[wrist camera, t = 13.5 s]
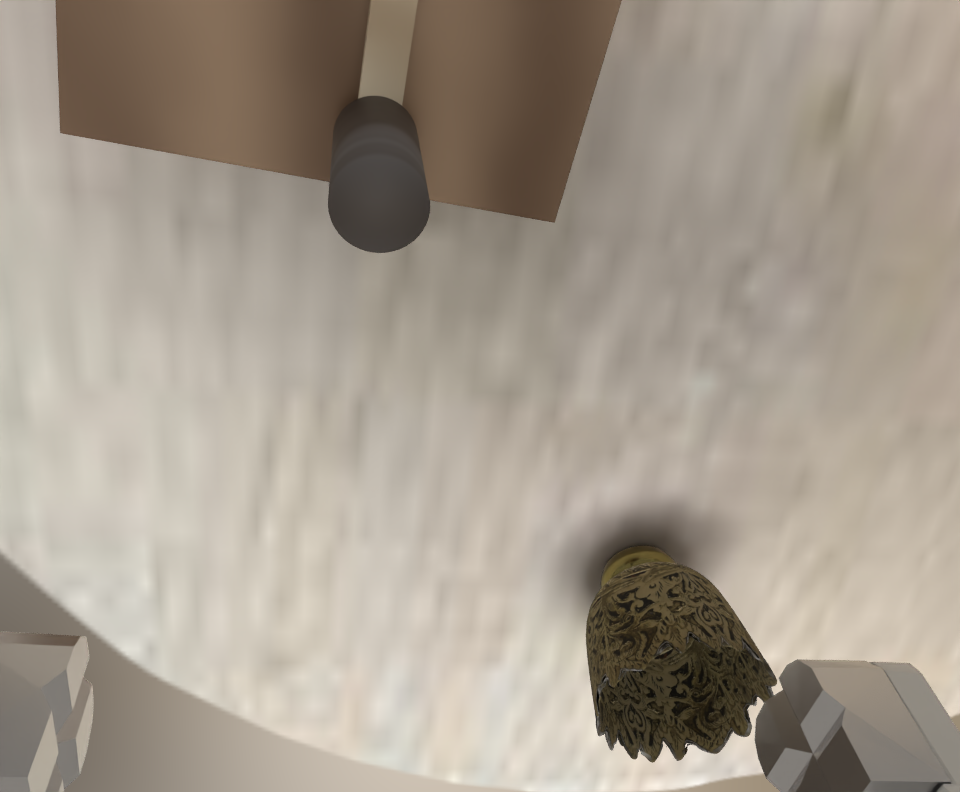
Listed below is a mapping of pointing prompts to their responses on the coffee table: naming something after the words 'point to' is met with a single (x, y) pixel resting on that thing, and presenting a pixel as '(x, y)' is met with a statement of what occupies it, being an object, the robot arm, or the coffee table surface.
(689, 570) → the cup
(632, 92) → the coffee table surface
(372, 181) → the tuning crank
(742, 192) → the coffee table surface
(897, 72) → the coffee table surface
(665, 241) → the coffee table surface
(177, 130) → the board
